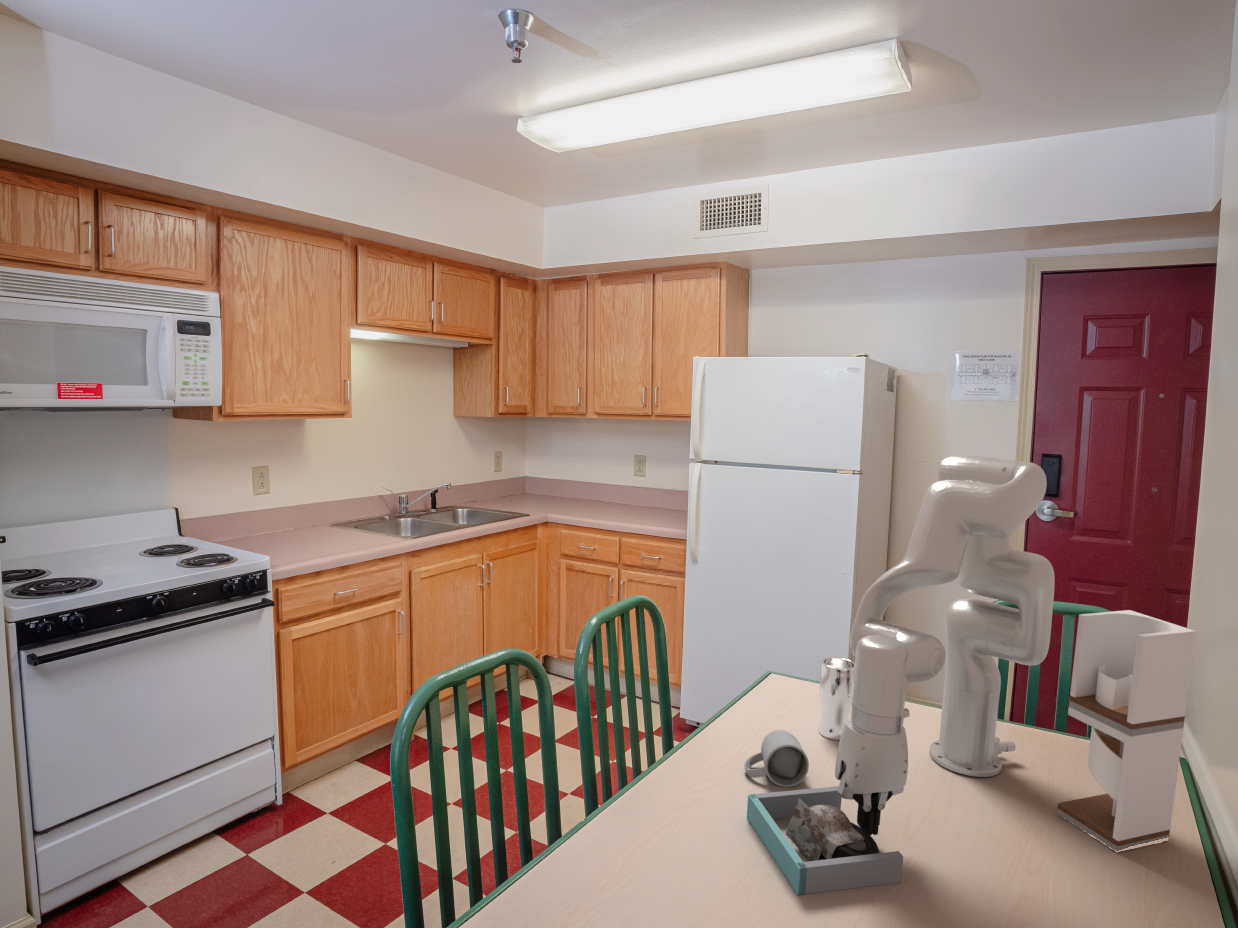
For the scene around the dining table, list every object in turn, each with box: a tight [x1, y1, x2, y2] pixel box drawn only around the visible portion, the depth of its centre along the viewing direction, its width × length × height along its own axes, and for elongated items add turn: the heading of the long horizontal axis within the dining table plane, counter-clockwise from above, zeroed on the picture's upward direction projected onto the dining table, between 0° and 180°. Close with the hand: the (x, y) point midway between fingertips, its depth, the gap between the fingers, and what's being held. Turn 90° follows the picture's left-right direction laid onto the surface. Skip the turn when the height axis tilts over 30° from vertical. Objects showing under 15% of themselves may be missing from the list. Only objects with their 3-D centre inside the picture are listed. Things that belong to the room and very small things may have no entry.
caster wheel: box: [785, 799, 880, 861], centre depth 111 cm, size 7×11×10 cm
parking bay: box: [746, 785, 904, 896], centre depth 113 cm, size 16×18×4 cm
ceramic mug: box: [743, 729, 810, 788], centre depth 133 cm, size 11×8×8 cm
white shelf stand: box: [1056, 609, 1197, 851], centre depth 119 cm, size 11×11×35 cm
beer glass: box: [818, 656, 855, 741], centre depth 149 cm, size 7×7×15 cm
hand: (867, 829), depth 114 cm, fingers closed
